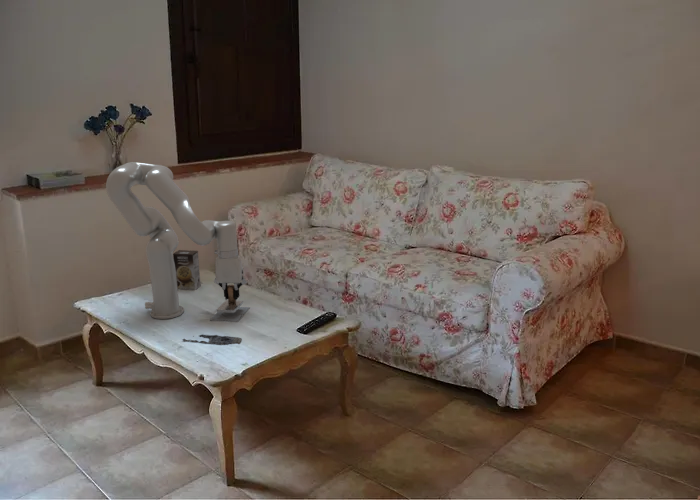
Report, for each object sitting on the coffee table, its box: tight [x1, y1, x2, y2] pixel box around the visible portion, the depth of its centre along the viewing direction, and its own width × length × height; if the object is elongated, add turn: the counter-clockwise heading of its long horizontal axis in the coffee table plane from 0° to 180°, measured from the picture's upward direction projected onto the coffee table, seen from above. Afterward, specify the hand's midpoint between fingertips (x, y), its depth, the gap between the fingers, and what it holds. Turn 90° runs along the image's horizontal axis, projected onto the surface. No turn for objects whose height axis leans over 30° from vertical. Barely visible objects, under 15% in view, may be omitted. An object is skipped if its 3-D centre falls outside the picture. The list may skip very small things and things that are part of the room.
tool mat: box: [209, 306, 251, 323], centre depth 250 cm, size 11×14×1 cm
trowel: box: [216, 284, 244, 313], centre depth 248 cm, size 7×10×8 cm
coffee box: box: [173, 249, 201, 291], centre depth 280 cm, size 9×6×16 cm
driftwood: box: [182, 334, 242, 346], centre depth 227 cm, size 21×7×2 cm, turn 74°
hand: (232, 298), depth 251 cm, fingers closed on trowel, 3 cm apart
